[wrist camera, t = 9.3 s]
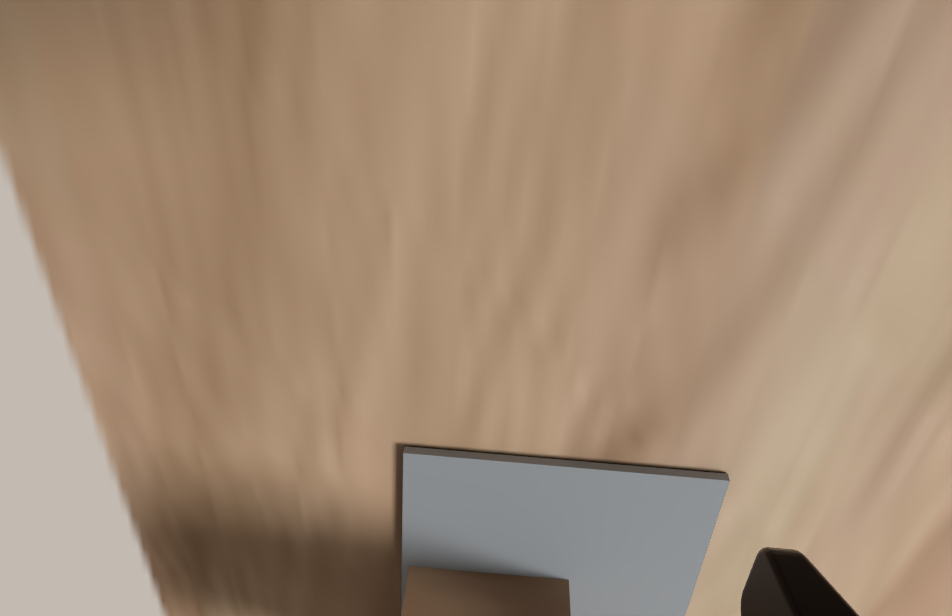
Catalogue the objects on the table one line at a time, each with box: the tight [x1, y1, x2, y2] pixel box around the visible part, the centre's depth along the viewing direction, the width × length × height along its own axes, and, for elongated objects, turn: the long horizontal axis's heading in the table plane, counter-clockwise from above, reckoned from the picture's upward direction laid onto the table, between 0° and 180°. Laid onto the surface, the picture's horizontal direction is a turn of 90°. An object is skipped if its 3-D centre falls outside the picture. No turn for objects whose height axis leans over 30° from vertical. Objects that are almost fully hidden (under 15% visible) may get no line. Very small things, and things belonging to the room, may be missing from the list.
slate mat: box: [401, 446, 730, 616], centre depth 28 cm, size 10×12×1 cm
